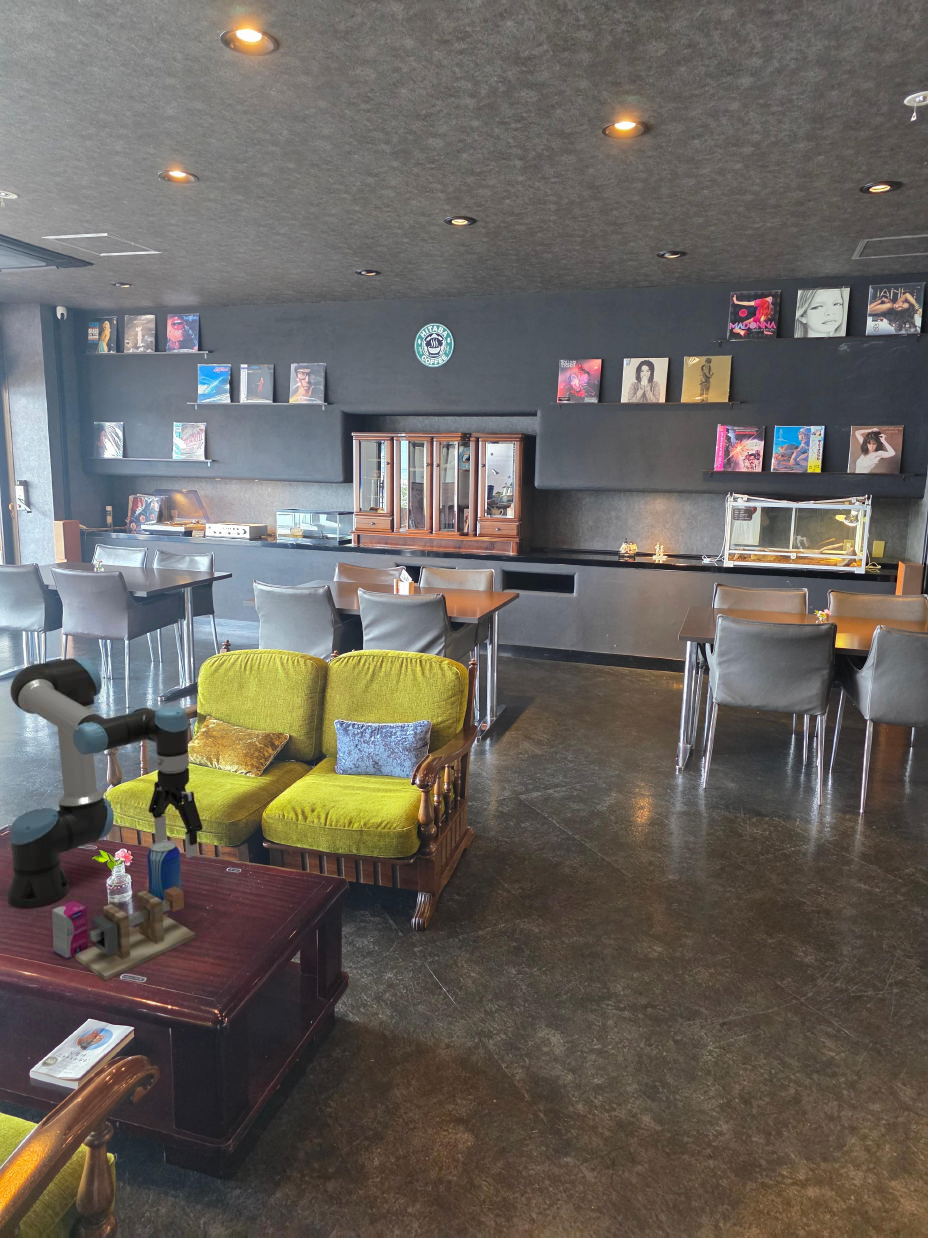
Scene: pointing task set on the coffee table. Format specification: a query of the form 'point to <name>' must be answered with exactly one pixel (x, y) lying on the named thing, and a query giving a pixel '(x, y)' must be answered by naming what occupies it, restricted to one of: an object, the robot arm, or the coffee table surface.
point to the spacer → (106, 935)
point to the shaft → (171, 902)
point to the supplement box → (69, 929)
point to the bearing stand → (136, 939)
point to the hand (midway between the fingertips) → (176, 848)
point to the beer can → (163, 868)
